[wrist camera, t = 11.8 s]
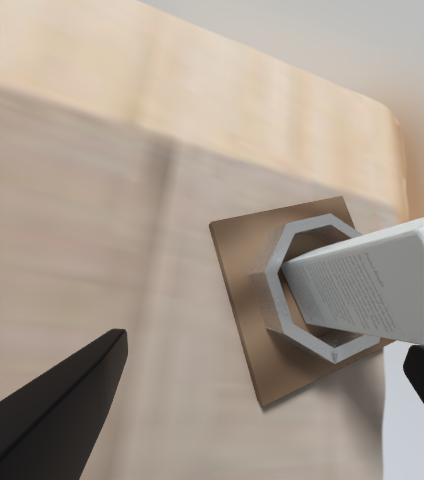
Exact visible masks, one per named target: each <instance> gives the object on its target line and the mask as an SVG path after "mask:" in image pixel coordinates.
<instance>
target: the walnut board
mask: <svg viewBox="0 0 424 480" xmlns="http://www.w3.org/2000/svg"><path fill="white" fill-rule="evenodd" d="M329 213H331V214H332V215H334V216H335V217H337V218H338V219H340V220H341V221H343V222H344V223H346V224H347V225H349V226H350V227H352V228H353V229H355V227H354V224H353V222H352V219H351V217H350V214H349V212H348V209H347V207H346V204H345V202H344V199H343V196H339V197H334V198H329V199H324V200H319V201H314V202H309V203H304V204H299V205H294V206H289V207H284V208H279V209H274V210H269V211H264V212H259V213H254V214H249V215H244V216H239V217H234V218H229V219H224V220H219V221H214V222H211V223H210V224H209V228H210V231H211V235H212V239H213V242H214V246H215V249H216V253H217V257H218V260H219V264H220V267H221V271H222V275H223V278H224V282H225V285H226V289H227V293H228V296H229V300H230V303H231V307H232V311H233V314H234V318H235V321H236V325H237V328H238V332H239V336H240V339H241V343H242V346H243V350H244V354H245V357H246V361H247V364H248V368H249V372H250V375H251V379H252V382H253V386H254V390H255V393H256V397H257V400H258V402H259V403H260V404H261V405H262V406H265V405H267V404H269V403H271V402H273V401H275V400H277V399H279V398H281V397H283V396H285V395H287V394H289V393H291V392H293V391H295V390H297V389H299V388H301V387H303V386H305V385H307V384H309V383H311V382H313V381H315V380H317V379H319V378H321V377H323V376H325V375H327V374H329V373H331V372H334V371H336V370H338V369H340V368H342V367H344V366H346V365H348V364H350V363H352V362H354V361H356V360H358V359H360V358H362V357H364V356H366V355H368V354H370V353H372V352H374V351H376V350H378V349H380V348H382V347H384V346H386V345H388V344H390V343H392V342H394V341H396V340H393V339H387V338H382V337H380V341H379V343H377V344H375V345H373V346H371V347H369V348H367V349H365V350H362V351H360V352H358V353H356V354H354V355H352V356H350V357H348V358H346V359H344V360H342V361H340V362H338V363H336V364H333V363H331V362H328V361H326V360H323V359H321V358H318V357H316V356H313V355H311V354H309V353H307V352H306V351H304V350H302V349H301V348H299V347H297V346H296V345H294V344H292V343H290V342H289V341H287V340H285V339H284V338H282V337H280V336H279V335H277V334H275V333H274V332H272V331H270V330H269V329H266V328H265V325H264V321H263V318H262V315H261V311H260V308H259V304H258V301H257V298H256V294H255V291H254V288H253V284H252V281H251V278H250V273H251V271H252V268H253V266H254V264H255V262H256V260H257V258H258V256H259V254H260V252H261V250H262V248H263V246H264V244H265V242H266V239H267V237H268V235H269V233H270V232H271V231H273V230H275V229H276V228H278V227H280V226H282V225H284V224H286V223H290V222H294V221H299V220H303V219H308V218H312V217H317V216H321V215H326V214H329ZM325 246H328V245H327V244H325V243H324V242H322V241H321V240H319V239H318V238H316V237H315V236H313V235H312V234H310V233H307V234H303V235H299V236H295V237H293V238H292V241H291V243H290V245H289V248H288V250H287V252H286V254H285V257H284V259H283V261H282V263H284V262H286V261H289V260H291V259H293V258H296V257H298V256H300V255H302V254H305V253H307V252H309V251H311V250H315V249H318V248H321V247H325ZM277 275H278V278H279V281H280V284H281V287H282V290H283V293H284V296H285V300H286V303H287V306H288V309H289V312H290V315H291V318H292V321H293V324H294V325H296V326H298V327H299V328H301V329H303V330H304V331H306V332H308V333H309V334H311V335H313V336H314V337H316V338H317V337H319V336H322V335H324V334H326V333H329V332H331V331H333V330H336V329H333V328H328V327H322V326H317V325H312V324H307V323H306V322H305V320H304V318H303V315H302V313H301V311H300V309H299V307H298V304H297V302H296V300H295V298H294V296H293V293H292V291H291V289H290V287H289V285H288V283H287V280H286V278H285V276H284V274H283V272H282V270H281V267H280V268H279V270H278V273H277Z"/></svg>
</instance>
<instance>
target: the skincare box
mask: <svg viewBox="0 0 424 480" xmlns="http://www.w3.org/2000/svg"><path fill="white" fill-rule="evenodd" d="M280 267H281V270H282V272H283V274H284V276H285V278H286V280H287V283H288V285H289V287H290V289H291V291H292V293H293V296H294V298H295V300H296V302H297V304H298V307H299V309H300V311H301V313H302V315H303V318H304V320H305V322H306V323H307V324H312V325H317V326H322V327H328V328H333V329H339V330H344V331H349V332H354V333H360V334H365V335H370V336H376V337H382V338H387V339H393V340H398V341H403V342H409V343H414V344H420V345H424V217H423V218H420V219H416V220H413V221H410V222H406V223H403V224H400V225H396V226H393V227H389V228H386V229H383V230H379V231H376V232H372V233H369V234H366V235H362V236H359V237H356V238H352V239H349V240H345V241H342V242H339V243H335V244H332V245H328V246H325V247H321V248H318V249H315V250H311V251H309V252H307V253H305V254H302V255H300V256H298V257H296V258H293V259H291V260H289V261H286V262H284V263H282V264H281V266H280Z"/></svg>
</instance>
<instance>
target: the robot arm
mask: <svg viewBox="0 0 424 480" xmlns="http://www.w3.org/2000/svg"><path fill="white" fill-rule="evenodd" d="M127 356H128V341H127V332H126V330H125V329H111V330H110V331H108V332H107V333H105V334H103V335H102V336H100V337H99V338H97V339H96V340H94V341H93V342H91V343H90V344H88V345H86V346H85V347H83V348H82V349H80V350H79V351H77V352H76V353H74V354H73V355H71V356H69V357H68V358H66V359H65V360H63V361H62V362H60V363H59V364H57V365H56V366H54V367H52V368H51V369H49V370H48V371H46V372H45V373H43V374H42V375H40V376H39V377H37V378H35V379H34V380H32V381H31V382H29V383H28V384H26V385H25V386H23V387H22V388H20V389H19V390H17V391H15V392H14V393H12V394H11V395H9V396H8V397H6V398H5V399H3V400H2V401H0V480H79V479H80V476H81V474H82V472H83V470H84V467H85V465H86V463H87V461H88V458H89V456H90V454H91V452H92V449H93V447H94V445H95V443H96V440H97V438H98V436H99V434H100V431H101V429H102V427H103V424H104V422H105V420H106V417H107V415H108V413H109V410H110V407H111V404H112V401H113V398H114V395H115V392H116V389H117V386H118V383H119V381H120V378H121V375H122V372H123V369H124V366H125V363H126V360H127ZM403 370H404V373H405V375H406V376H407V378H408V379H409V381H410V383H411V384H412V386H413V387H414V389H415V391H416V392H417V394H418V395H419V397H420V399H421V400H422V401H423V403H424V345H412V346H411V347H410V348H409V351H408V353H407V356H406V359H405V361H404V364H403Z"/></svg>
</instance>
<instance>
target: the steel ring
mask: <svg viewBox="0 0 424 480" xmlns="http://www.w3.org/2000/svg"><path fill="white" fill-rule="evenodd" d="M307 233H310V234H312V235H313V236H315V237H316V238H318V239H319V240H321V241H322V242H324V243H325V244H327V245H332V244H335V243H339V242H342V241H345V240H349V239H352V238H356V237H359V236H362V234H361V233H359V232H358V231H356V230H355V229H353V228H352V227H350V226H349V225H347V224H346V223H344V222H343V221H341V220H340V219H338V218H337V217H335V216H334V215H332V214H331V213H329V214H326V215H321V216H317V217H312V218H308V219H303V220H299V221H294V222H290V223H286V224H284V225H282V226H280V227H278V228H276V229H275V230H273V231H271V232H270V233H269V235H268V237H267V239H266V242H265V244H264V246H263V248H262V250H261V252H260V254H259V256H258V258H257V260H256V262H255V264H254V266H253V268H252V271H251V273H250V278H251V281H252V284H253V288H254V291H255V294H256V298H257V301H258V304H259V308H260V311H261V315H262V318H263V321H264V325H265V328H266V329H269V330H270V331H272V332H274V333H275V334H277V335H279V336H280V337H282V338H284V339H285V340H287V341H289V342H290V343H292V344H294V345H296V346H297V347H299V348H301V349H302V350H304V351H306V352H307V353H309V354H311V355H313V356H316V357H318V358H321V359H323V360H326V361H328V362H331V363H333V364H336V363H338V362H340V361H342V360H344V359H346V358H348V357H350V356H352V355H354V354H356V353H358V352H360V351H362V350H365V349H367V348H369V347H371V346H373V345H375V344H377V343H379V341H380V337H376V336H370V335H365V334H360V333H354V332H349V331H344V330H339V329H336V330H333V331H331V332H329V333H326V334H324V335H322V336H319V337H317V338H316V337H314V336H313V335H311V334H309V333H308V332H306V331H304V330H303V329H301V328H299V327H298V326H296V325H294V324H293V321H292V318H291V315H290V312H289V309H288V306H287V303H286V300H285V296H284V293H283V290H282V287H281V284H280V281H279V278H278V275H277V273H278V270H279V268H280V266H281V264H282V261H283V259H284V257H285V254H286V252H287V250H288V248H289V245H290V243H291V241H292V238H293V237H295V236H299V235H303V234H307Z"/></svg>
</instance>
